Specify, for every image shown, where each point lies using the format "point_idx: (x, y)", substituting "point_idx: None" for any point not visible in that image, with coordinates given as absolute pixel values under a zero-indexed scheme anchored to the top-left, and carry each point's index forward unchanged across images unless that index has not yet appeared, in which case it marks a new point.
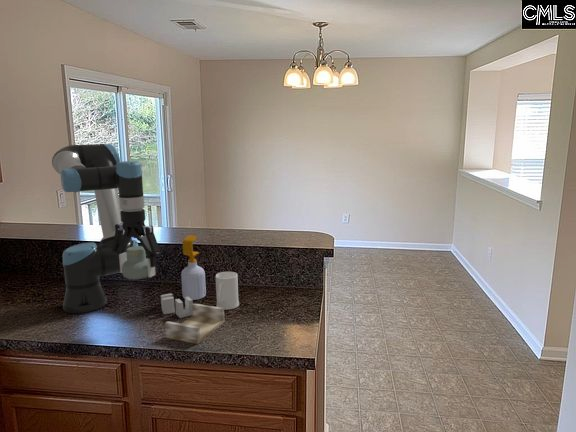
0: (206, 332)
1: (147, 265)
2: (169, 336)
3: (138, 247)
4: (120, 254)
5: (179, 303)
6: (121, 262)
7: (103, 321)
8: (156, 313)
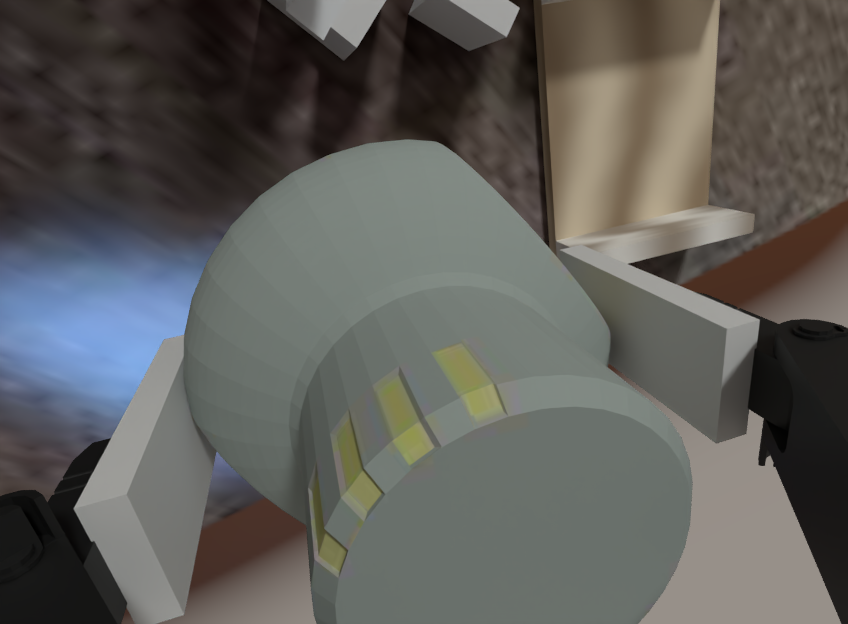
0: (706, 143)
1: (644, 386)
2: None
3: (540, 511)
4: (168, 613)
5: (506, 33)
6: (203, 504)
7: (117, 322)
8: (288, 70)
